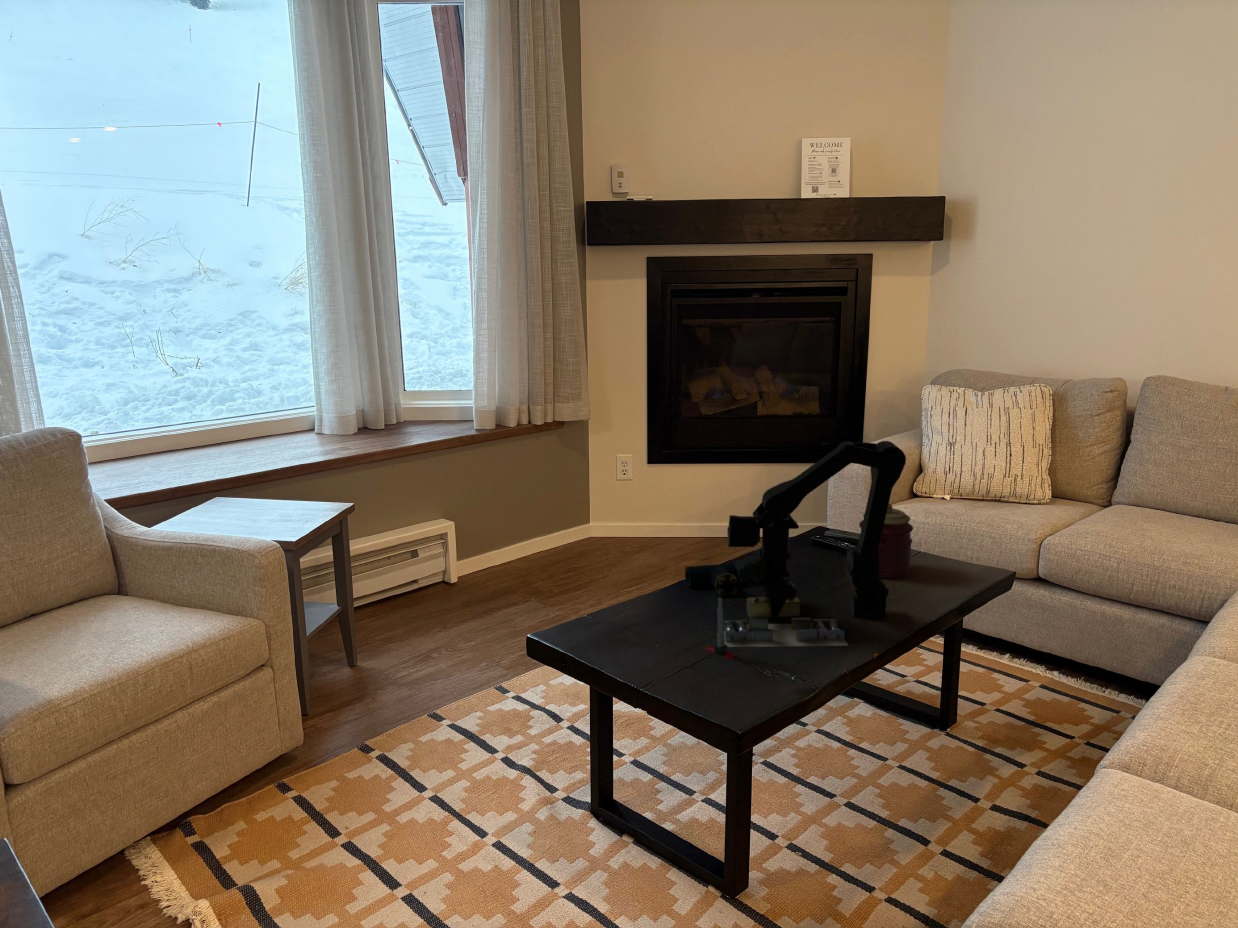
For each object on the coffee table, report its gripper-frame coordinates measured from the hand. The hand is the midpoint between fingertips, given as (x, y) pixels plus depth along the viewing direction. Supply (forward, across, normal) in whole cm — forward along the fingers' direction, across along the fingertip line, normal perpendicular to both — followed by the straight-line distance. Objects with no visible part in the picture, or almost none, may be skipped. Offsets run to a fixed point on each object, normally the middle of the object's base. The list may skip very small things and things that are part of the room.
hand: (772, 613), depth 197 cm
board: (+1, +11, 0) cm, 11 cm away
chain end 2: (0, +11, +7) cm, 13 cm away
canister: (+1, -29, +33) cm, 44 cm away
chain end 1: (0, +11, -7) cm, 13 cm away
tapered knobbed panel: (+1, 0, 0) cm, 1 cm away
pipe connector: (+2, -18, -9) cm, 21 cm away
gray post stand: (+1, +22, -16) cm, 27 cm away
